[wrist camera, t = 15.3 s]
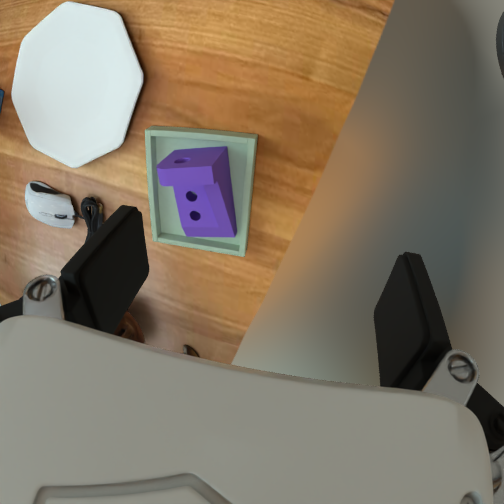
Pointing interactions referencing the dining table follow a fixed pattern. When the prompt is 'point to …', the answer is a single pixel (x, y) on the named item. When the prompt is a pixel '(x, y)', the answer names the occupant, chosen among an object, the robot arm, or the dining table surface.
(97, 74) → the plate
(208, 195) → the bracket
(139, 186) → the dining table surface
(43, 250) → the dining table surface
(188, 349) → the oyster shell
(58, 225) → the computer mouse
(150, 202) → the shallow tray
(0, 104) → the ink box
